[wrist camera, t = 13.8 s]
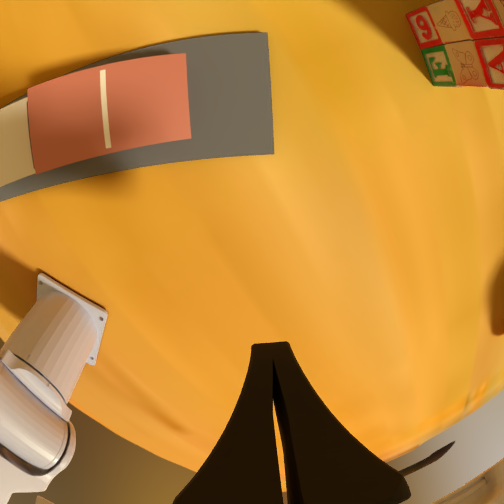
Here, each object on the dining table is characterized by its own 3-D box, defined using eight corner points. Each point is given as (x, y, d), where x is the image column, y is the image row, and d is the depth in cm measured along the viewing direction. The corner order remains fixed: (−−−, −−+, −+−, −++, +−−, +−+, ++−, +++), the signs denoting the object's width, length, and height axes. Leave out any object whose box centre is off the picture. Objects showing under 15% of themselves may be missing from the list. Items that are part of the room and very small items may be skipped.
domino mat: (-18, 207, 16) (-22, 209, 16) (-30, 132, 13) (-34, 133, 12) (273, 153, 17) (274, 154, 16) (266, 35, 13) (267, 32, 12)
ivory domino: (105, 151, 15) (-3, 187, 12) (98, 81, 13) (-11, 121, 10) (101, 153, 14) (-15, 193, 11) (94, 75, 11) (-24, 121, 8)
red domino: (185, 137, 15) (46, 169, 13) (180, 61, 13) (38, 92, 10) (191, 138, 14) (35, 174, 11) (186, 53, 11) (27, 88, 9)
